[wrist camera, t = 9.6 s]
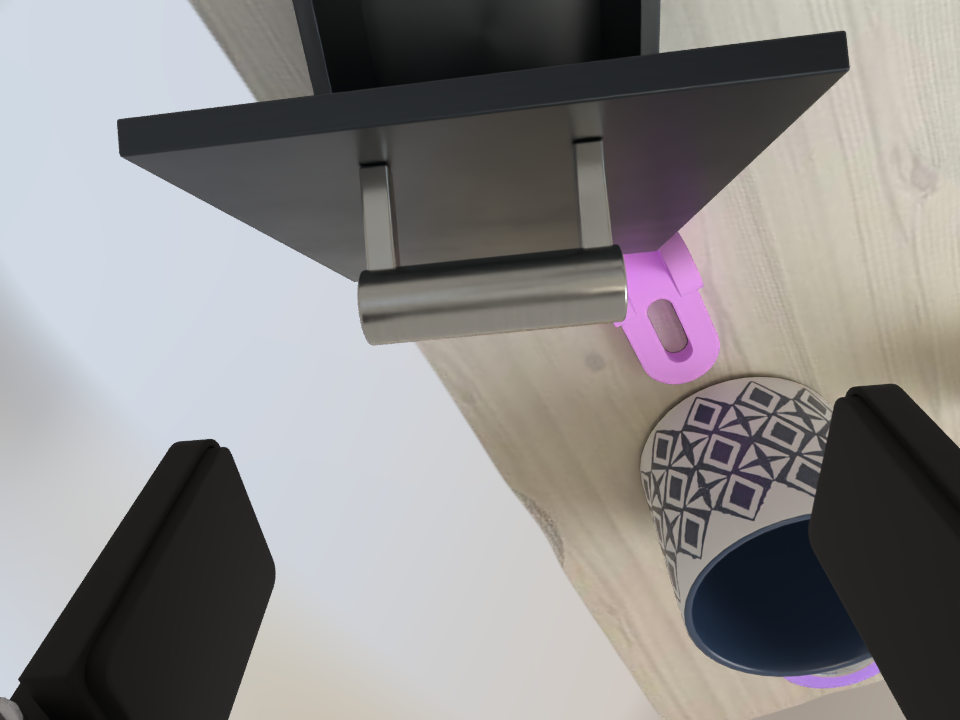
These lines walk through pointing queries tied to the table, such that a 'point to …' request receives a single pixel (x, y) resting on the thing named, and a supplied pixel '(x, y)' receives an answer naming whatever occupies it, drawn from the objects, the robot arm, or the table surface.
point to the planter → (748, 527)
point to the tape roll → (838, 676)
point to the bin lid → (493, 176)
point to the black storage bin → (464, 37)
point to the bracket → (679, 283)
